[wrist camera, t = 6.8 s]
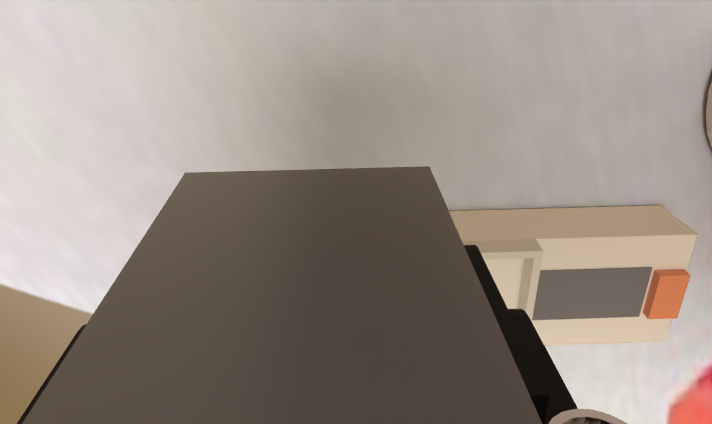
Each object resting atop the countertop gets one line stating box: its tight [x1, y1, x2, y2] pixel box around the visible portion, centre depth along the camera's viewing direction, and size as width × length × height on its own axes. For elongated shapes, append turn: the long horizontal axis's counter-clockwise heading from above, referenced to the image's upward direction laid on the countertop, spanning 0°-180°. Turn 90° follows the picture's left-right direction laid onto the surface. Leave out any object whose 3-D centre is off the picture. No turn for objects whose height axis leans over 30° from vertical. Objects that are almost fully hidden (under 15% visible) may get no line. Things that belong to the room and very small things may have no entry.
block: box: [22, 167, 542, 424], centre depth 9 cm, size 5×5×7 cm
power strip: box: [449, 205, 698, 346], centre depth 30 cm, size 23×7×5 cm, turn 91°
